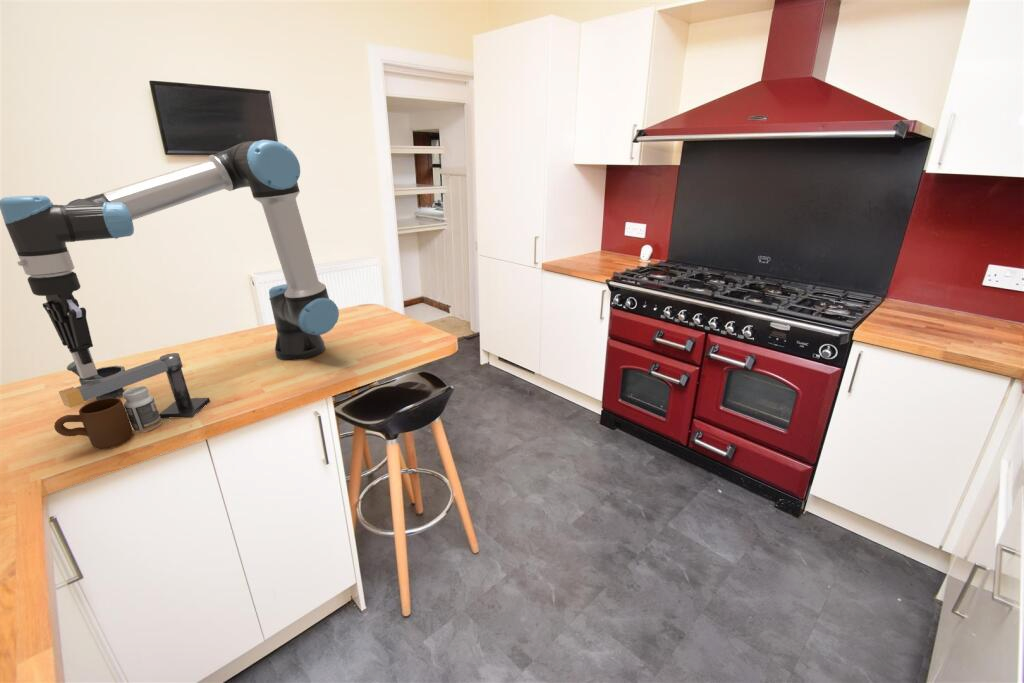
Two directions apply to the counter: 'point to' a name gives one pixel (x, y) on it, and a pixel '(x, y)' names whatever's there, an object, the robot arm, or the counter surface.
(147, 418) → the pill bottle
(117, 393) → the mortar and pestle
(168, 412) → the post
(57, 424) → the mug
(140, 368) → the bar
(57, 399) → the counter surface
